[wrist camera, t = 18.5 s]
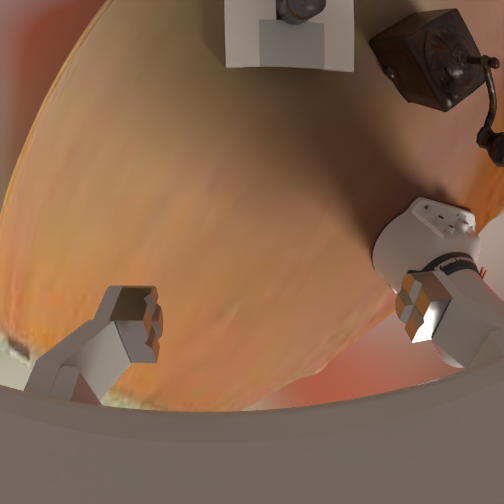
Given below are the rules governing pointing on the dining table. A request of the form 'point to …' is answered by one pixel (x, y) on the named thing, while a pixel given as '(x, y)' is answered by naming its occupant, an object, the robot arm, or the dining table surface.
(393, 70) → the manual coffee grinder
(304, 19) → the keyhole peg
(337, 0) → the keyhole board
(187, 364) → the dining table surface
